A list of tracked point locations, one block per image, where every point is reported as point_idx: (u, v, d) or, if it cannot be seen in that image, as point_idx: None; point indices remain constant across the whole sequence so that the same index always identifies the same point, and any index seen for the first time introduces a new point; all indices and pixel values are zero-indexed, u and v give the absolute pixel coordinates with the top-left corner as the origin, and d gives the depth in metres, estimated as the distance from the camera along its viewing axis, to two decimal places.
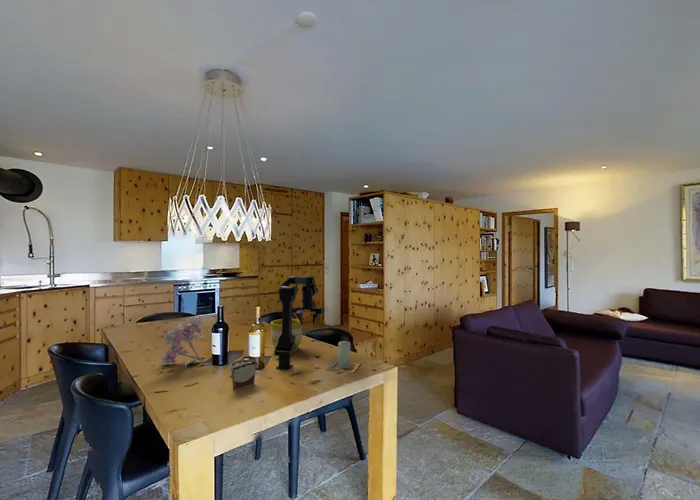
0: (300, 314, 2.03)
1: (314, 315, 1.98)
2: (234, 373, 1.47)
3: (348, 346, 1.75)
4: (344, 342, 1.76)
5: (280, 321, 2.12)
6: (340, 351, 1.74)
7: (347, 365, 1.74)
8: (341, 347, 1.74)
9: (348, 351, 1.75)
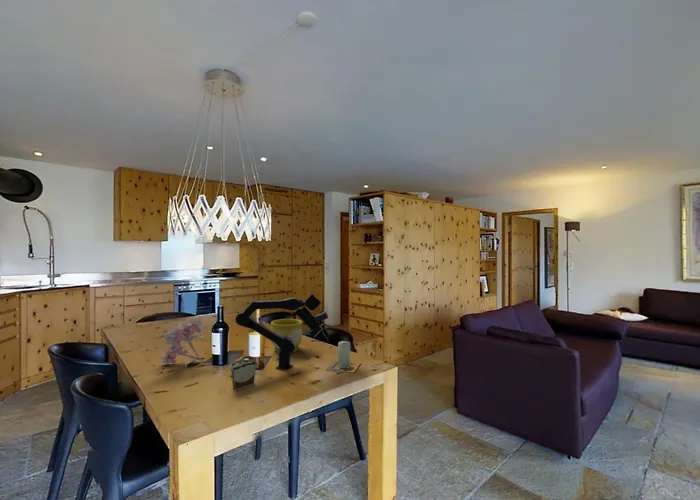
0: None
1: None
2: (234, 373, 1.47)
3: (348, 346, 1.75)
4: (344, 342, 1.76)
5: (280, 321, 2.12)
6: (340, 351, 1.74)
7: (347, 365, 1.74)
8: (341, 347, 1.74)
9: (348, 351, 1.75)
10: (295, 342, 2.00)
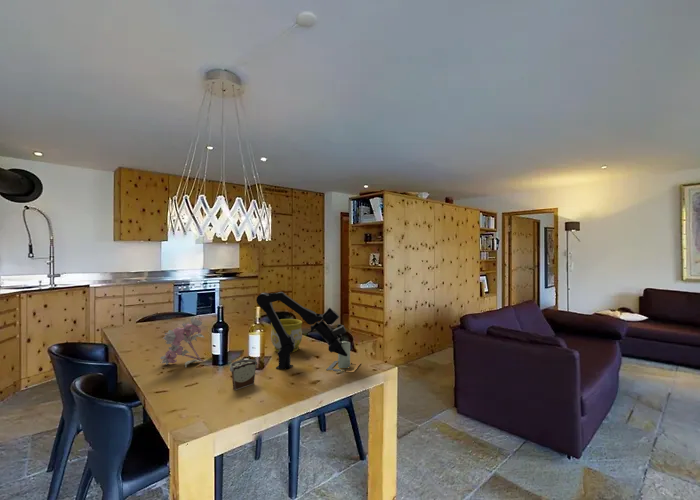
0: None
1: None
2: (234, 373, 1.47)
3: (348, 346, 1.75)
4: (344, 342, 1.76)
5: (280, 321, 2.12)
6: None
7: (347, 365, 1.74)
8: None
9: (348, 351, 1.75)
10: (295, 342, 2.00)
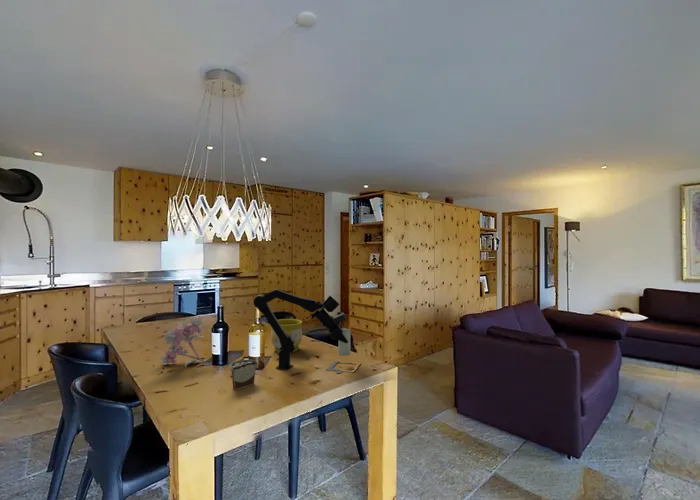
0: None
1: None
2: (234, 373, 1.47)
3: (348, 333, 1.77)
4: (344, 329, 1.78)
5: (280, 321, 2.12)
6: None
7: (347, 352, 1.76)
8: None
9: (348, 338, 1.77)
10: (295, 342, 2.00)
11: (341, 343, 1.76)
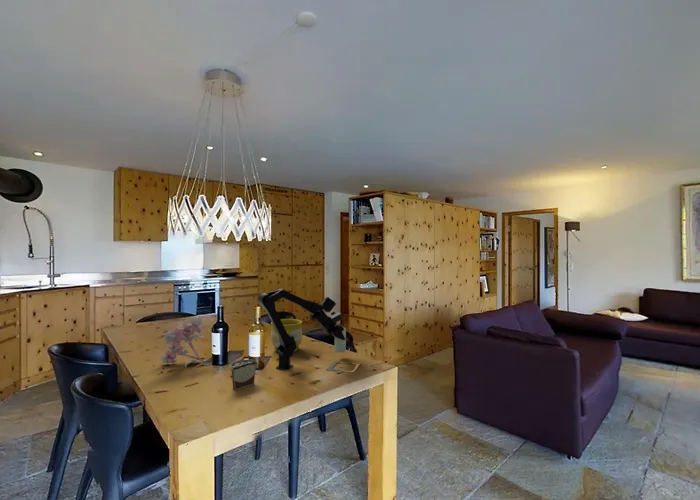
0: (331, 331, 1.93)
1: None
2: (234, 373, 1.47)
3: (345, 331, 1.90)
4: None
5: None
6: None
7: (344, 348, 1.89)
8: None
9: (345, 335, 1.90)
10: None
11: (339, 341, 1.88)
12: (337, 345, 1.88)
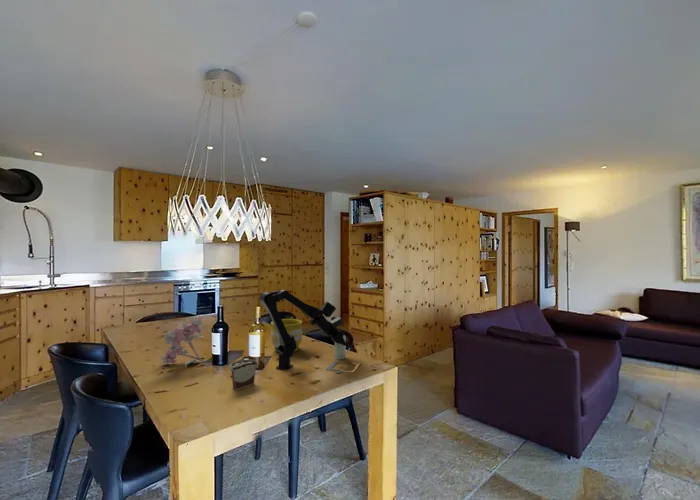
0: None
1: (336, 342, 1.83)
2: (234, 373, 1.47)
3: (345, 338, 1.90)
4: None
5: None
6: (338, 344, 1.88)
7: (344, 356, 1.89)
8: None
9: None
10: None
11: (339, 348, 1.88)
12: (337, 353, 1.88)
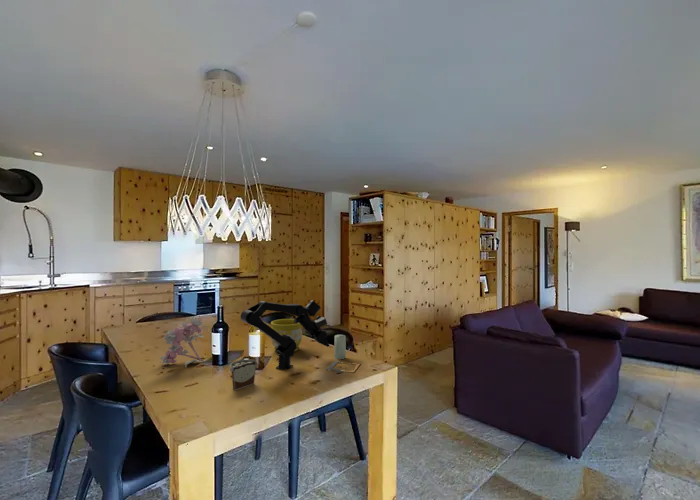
0: (313, 335, 1.90)
1: (318, 342, 1.79)
2: (234, 373, 1.47)
3: (345, 338, 1.90)
4: (340, 335, 1.90)
5: (280, 321, 2.12)
6: (338, 344, 1.88)
7: (344, 356, 1.89)
8: (339, 340, 1.88)
9: (345, 343, 1.90)
10: (295, 342, 2.00)
11: (339, 348, 1.88)
12: (337, 353, 1.88)
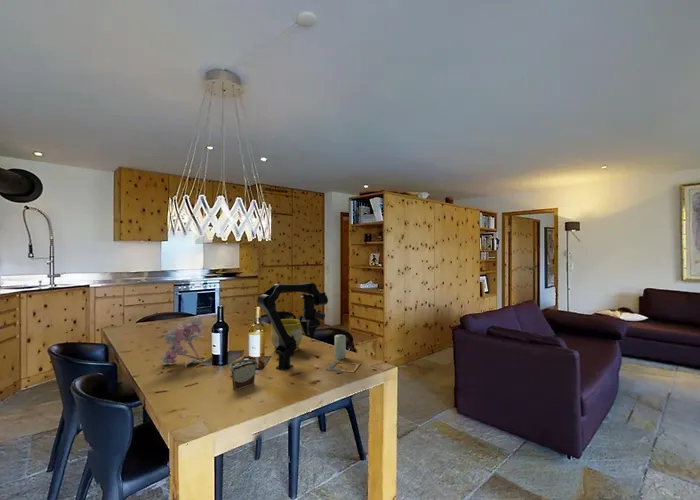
0: (304, 323, 1.89)
1: (307, 327, 1.78)
2: (234, 373, 1.47)
3: (345, 338, 1.90)
4: (340, 335, 1.90)
5: None
6: (338, 344, 1.88)
7: (344, 356, 1.89)
8: (339, 340, 1.88)
9: (345, 343, 1.90)
10: None
11: (339, 348, 1.88)
12: (337, 353, 1.88)
